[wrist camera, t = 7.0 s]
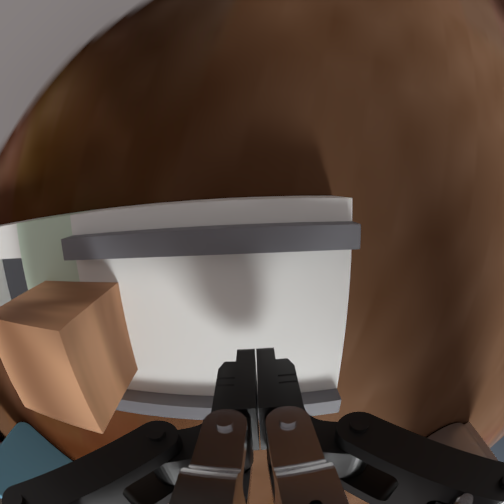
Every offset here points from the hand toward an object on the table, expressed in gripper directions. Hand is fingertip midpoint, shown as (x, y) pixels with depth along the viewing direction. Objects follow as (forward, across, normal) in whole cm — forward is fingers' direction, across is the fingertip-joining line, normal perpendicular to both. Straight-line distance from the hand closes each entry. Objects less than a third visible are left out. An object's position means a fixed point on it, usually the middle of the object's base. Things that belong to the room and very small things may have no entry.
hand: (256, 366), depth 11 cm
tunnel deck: (+5, +8, -1) cm, 9 cm away
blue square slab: (+5, +27, +21) cm, 34 cm away
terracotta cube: (+2, +9, -1) cm, 9 cm away
